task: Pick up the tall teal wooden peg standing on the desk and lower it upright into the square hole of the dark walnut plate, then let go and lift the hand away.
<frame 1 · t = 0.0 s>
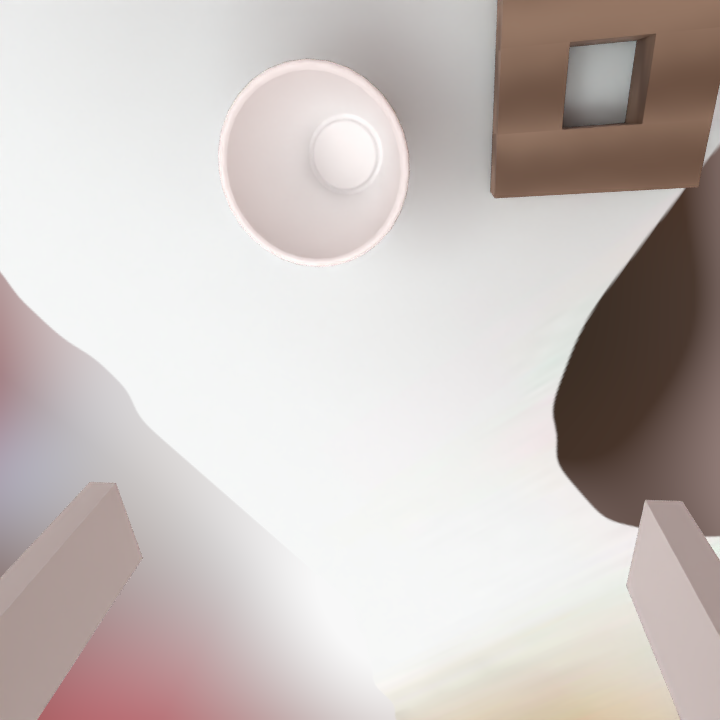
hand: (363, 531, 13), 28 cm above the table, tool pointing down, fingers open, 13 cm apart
cup: (346, 155, 35), on the table
hole plate: (598, 29, 30), on the table
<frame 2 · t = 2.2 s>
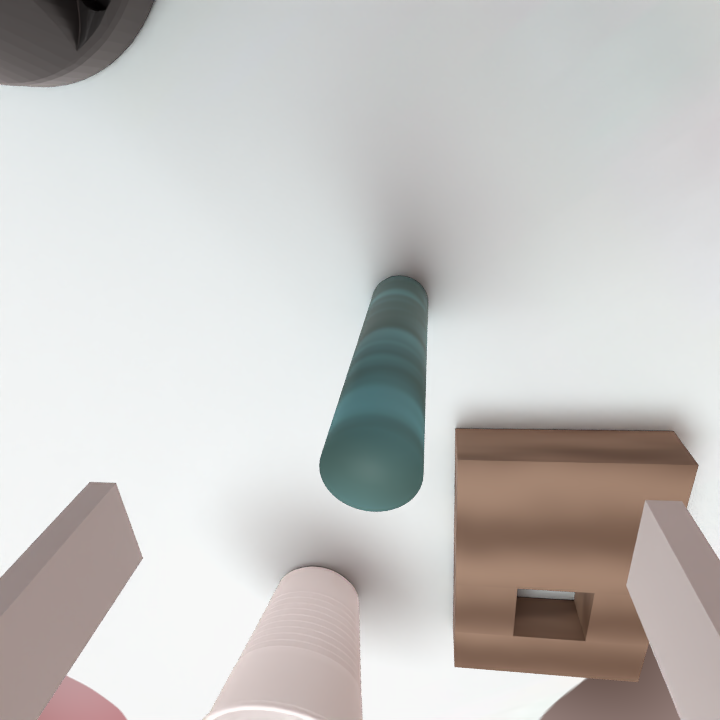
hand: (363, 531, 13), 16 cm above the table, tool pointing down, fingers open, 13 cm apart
cup: (319, 589, 38), on the table
peg: (399, 302, 27), on the table
hole plate: (546, 543, 33), on the table
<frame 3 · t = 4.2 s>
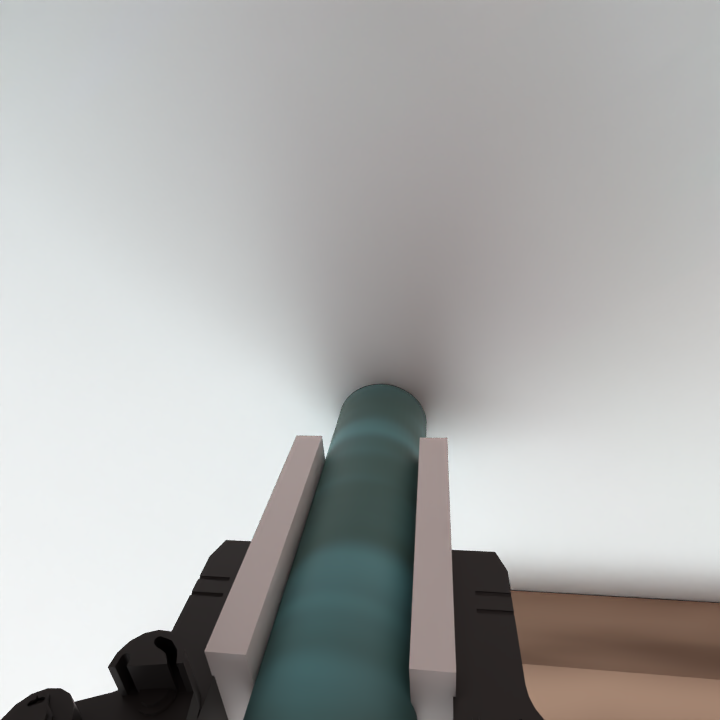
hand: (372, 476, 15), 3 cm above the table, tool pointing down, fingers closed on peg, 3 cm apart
peg: (382, 422, 17), on the table, touching gripper
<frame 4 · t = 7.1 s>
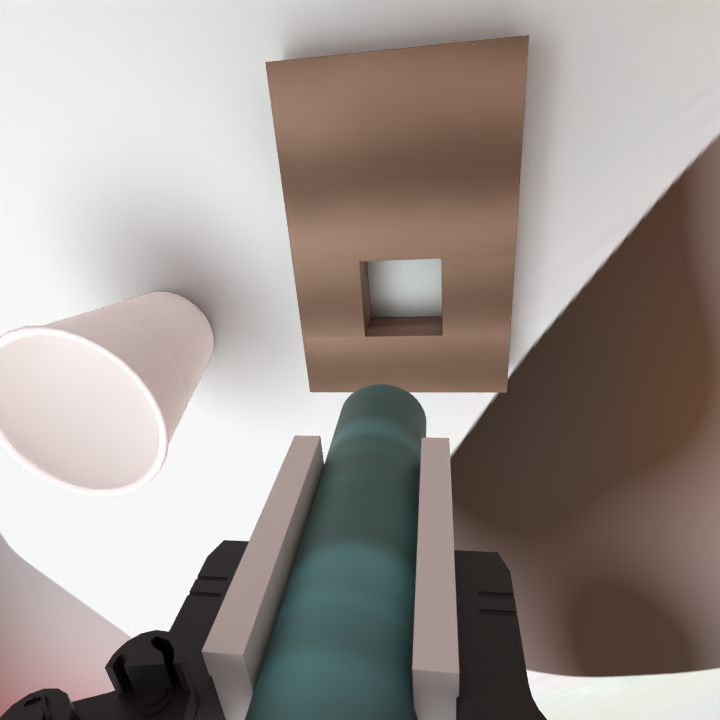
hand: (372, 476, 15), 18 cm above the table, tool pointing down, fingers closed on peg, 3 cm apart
cup: (174, 331, 35), on the table
peg: (382, 421, 17), point 15 cm above the table, touching gripper
hole plate: (402, 233, 29), on the table
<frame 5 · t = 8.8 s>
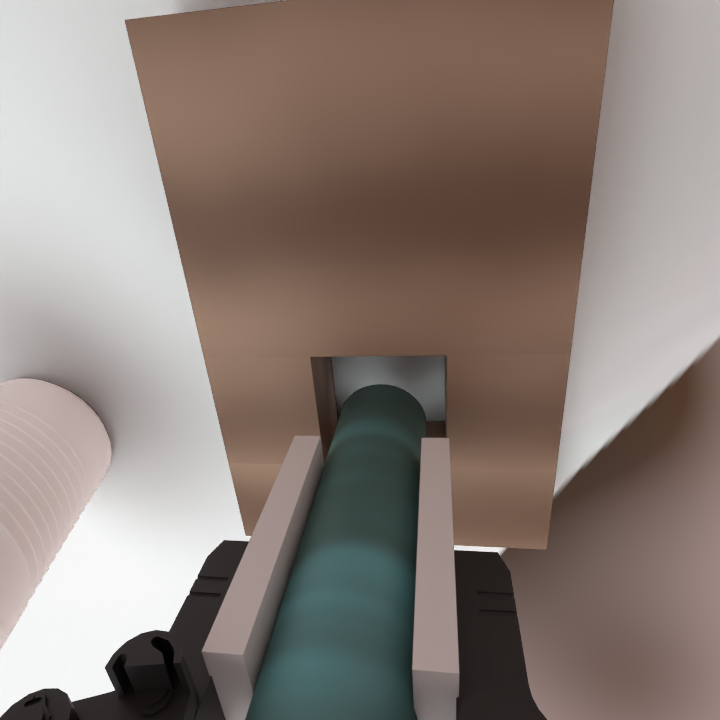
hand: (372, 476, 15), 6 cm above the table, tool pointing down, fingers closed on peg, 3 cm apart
cup: (57, 428, 24), on the table
peg: (382, 422, 17), point 3 cm above the table, touching gripper
hole plate: (384, 302, 19), on the table
when the fingers open (4 cm above the table, at t = 10.0 s): peg stays where it is, resting in hole plate.
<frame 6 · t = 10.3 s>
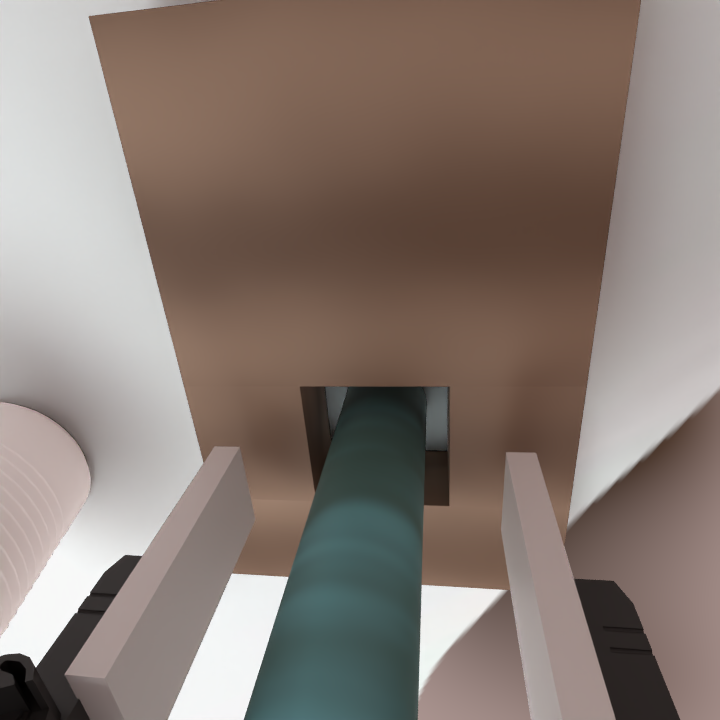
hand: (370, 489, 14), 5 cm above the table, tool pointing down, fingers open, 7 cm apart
cup: (33, 454, 22), on the table
peg: (385, 403, 19), resting in hole plate
hole plate: (381, 324, 17), on the table
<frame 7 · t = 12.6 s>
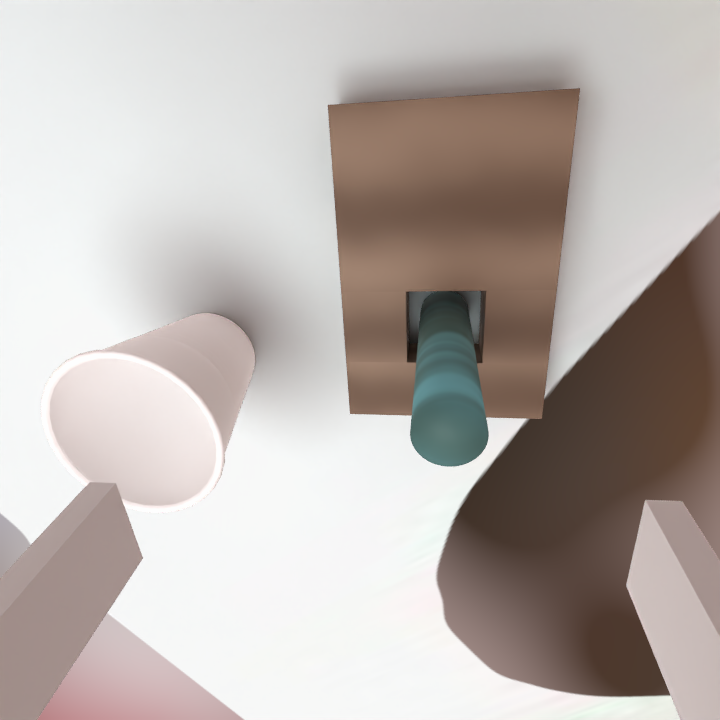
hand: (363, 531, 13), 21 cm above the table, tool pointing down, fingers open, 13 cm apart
cup: (216, 350, 36), on the table
peg: (444, 312, 32), resting in hole plate
hole plate: (445, 264, 31), on the table
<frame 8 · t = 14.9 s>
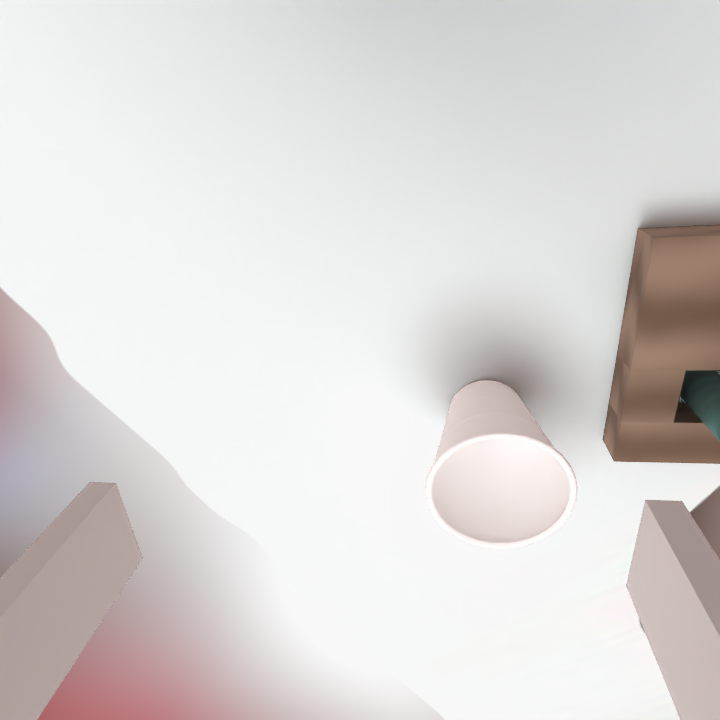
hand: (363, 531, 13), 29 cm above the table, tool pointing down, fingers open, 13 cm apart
cup: (484, 407, 44), on the table
peg: (693, 379, 40), resting in hole plate
hole plate: (702, 343, 38), on the table
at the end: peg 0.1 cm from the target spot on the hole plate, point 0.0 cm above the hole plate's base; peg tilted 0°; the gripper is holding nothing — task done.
